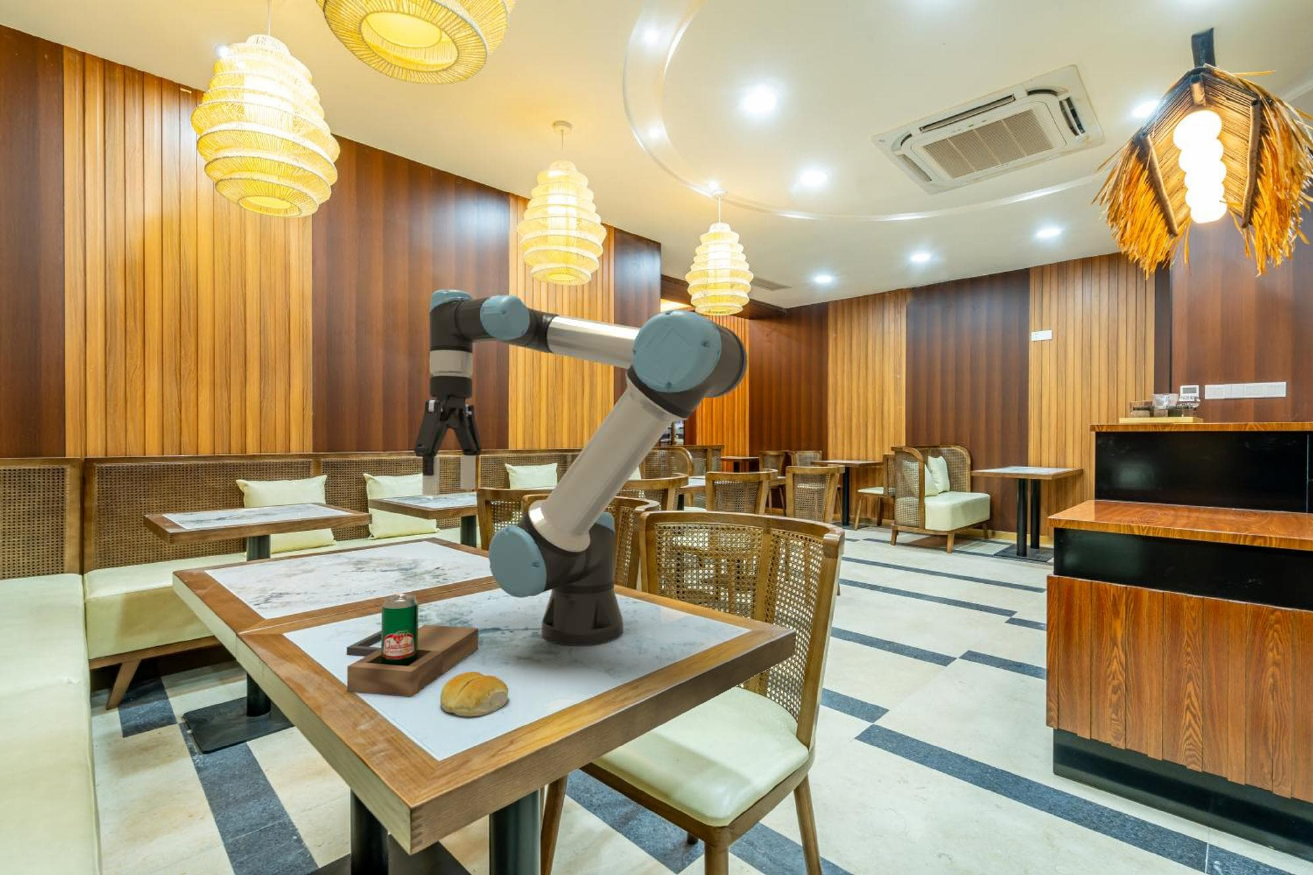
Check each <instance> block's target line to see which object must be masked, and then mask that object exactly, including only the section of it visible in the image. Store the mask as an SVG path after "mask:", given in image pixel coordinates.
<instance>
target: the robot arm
mask: <svg viewBox="0 0 1313 875" xmlns="http://www.w3.org/2000/svg"><path fill="white" fill-rule="evenodd" d="M473 298H474V297H473V296H472V294H470V293H469V292H467V291H463V290H459V289H438V290H435V291H434V292H432V294H431V296H430V306H429V312H428V315H429V352H430V353H429V359H428V362H429V373H430V375H433V376H430V377H429V381H428V382H429V384H428V385H429V387H428V388H429V392H428V393H429V396H430V397H431V398H434V399H429V400H425V402H424V413H423V416H422V417H423V418H422V420H421V424H420V427H419V431H418V433H417V434H418V435H417V437H416V441H415V444H414V447H413V448H414V449H413V452H414V453H415V456H416V457H418V458H422V492H421V493H422V496H439V495H440V457H439V456H437V455H438V452H439V450H440V449H441V446H442V444H443V441H444V440H445V436H446V434H447V432H448V430H449V429H451V430H453V432H454V434H455V437H456V439H457V441H458V444H459V447H460V449H461V452H462V453H463V455H460V490H476V456H481V454H482V444H481V438H480V436H479V430H478V424H477V422H476V417H475V405H474V404H466V399H467V400H468V399H471V398H473V383H474V382H473V379H472V378H470V377H471V376H473V374H474V364H473V363H474V360H473V359H474V358H473V357H474V356H473V352H474V350H473V347H474V346H473V345H474V343H481V342H496V343H501V344H506V345H510V346H516V347H519V348H520V347H522V348H525V349H529V350H533V351H537V352H539V353H546V354H553V355H559V356H565V357H568V358H573V359H578V360H583V361H588V362H594V363H597V364H603V365H608V366H612V367H616V368H617V367H618V368H622V369H626V372H625V379H626V384H627V386H626V389H625V391H623V394H622V395H621V396H620V397H619V399H618V400H617V401H616V403H615V404H614V406H613V407H612V408H611V410H610V411H609V413H608V414H607V416H606V417H605V418H604V419H603V421H602V422H601V423H600V425H599V427H597V429H596V430H595V432H594V433H593V435H592V436H591V437H590V439H589V440H588V441H587V443H586V444H585V445H584V447H583V448H582V450H581V451H580V453H579V454H578V455H577V456H576V457H575V459H574V461H573V462H572V463H571V465H570V466H569V467H568V469H567V470H566V471H565V473H564V474H563V476H562V477H561V479H560V480H559V481H558V482H557V484H556V485H555V486H554V489H553V490H552V491H551V492H550V494H549V495H548V496H547V497H546V499H538V500H535V501H534V502H532V503H531V504H530V505H529V507H528V508H527V510H526V511H525V512H524V514H523V515H522V517H521V518H520V520H518V522H517V523H516V524H515V525H514V524H510V525H506V526H504V527H502V528H500V529H499V530H498V531H497V532H495V533H494V535H493V537H492V538H491V541H490V543H489V547H488V561H489V568H490V572H491V574H492V577H493V579H494V581H495V582H496V584H497V586H499V588H500V589H501V590H502V591H503V592H505V593H506V594H508V595H509V596H511V597H514V598H528V597H536V596H538V595H541V594H542V593H545V592H548V591H550V590H551V593H550V597H549V599H548V602H547V606H546V609H545V611H544V615H543V617H542V620H541V636H542V638H544V639H545V640H547V641H548V642H552V643H555V644H560V645H568V646H591V645H598V644H604V643H608V642H611V641H613V640H616V639H618V638H620V637H621V636H622V635H623V633H624V619H623V616H622V612H621V609H620V605H619V602H618V599H617V596H616V593H615V554H616V553H615V547H616V546H615V544H616V542H615V541H616V539H615V538H616V530H615V529H616V528H615V518H614V516H613V514H612V513H610V512H608V511H606V509H607V507H608V506H609V505H610V504H611V503H612V501H613V500H614V499H615V497H616V496H617V495H618V494H619V492H621V490H622V488H623V487H624V485H625V484H626V483H627V482H628V480H629V479H630V478H631V477H632V475H633V474H634V472H636V470H637V469H638V467H639V466H640V465H641V463H642V462H643V461H644V459H646V457H647V456H648V455H649V453H650V452H651V450H652V449H653V448H654V446H656V444H657V443H658V442H659V440H660V439H661V438H662V436H663V435H664V434H665V433H666V431H667V430H668V429H669V427H670V426H671V424H672V423H674V422H678V421H679V422H680V421H686V420H689V418H690V417H691V416H692V414H693V413H694V412H695V410H696V409H697V408H698V406H700V404H701V403H702V402H703V400H704V399H706V398H708V399H715V398H720V397H723V396H726V395H728V394H729V393H732V392H733V391H734V390H736V388H737V387H738V386H739V385H740V384H741V383H742V381H743V379H744V378H745V376H746V372H747V370H748V369H747V368H748V362H749V361H748V353H747V348H746V347H745V345H744V343H743V340H742V339H741V338H740V337H739V335H738V334H737V333H736V332H734V331H733V330H731V329H730V328H727V327H726V326H724V325H720V324H719V323H717V322H715V321H713V320H711V319H709V318H707V317H705V316H704V315H702V314H700V313H698V312H695V311H694V312H693V311H691V310H690V311H688V310H684V309H683V310H681V309H670V310H666V311H665V310H664V311H662V312H660V313H658V314H656V315H653V316H652V317H651V318H649V319H648V320H647V321H646V322H645V323H644V324H643V325H642V326H641V327H636V326H629V325H628V326H627V325H625V324H624V325H623V324H618V323H617V324H616V323H612V322H611V323H610V322H607V321H606V322H605V321H598V320H593V319H587V318H582V317H575V316H574V317H573V316H570V315H569V316H568V315H562V314H558V313H557V314H556V313H551V312H545V311H543V310H542V311H540V310H537V309H533V308H531V307H528V306H527V304H526V303H525V302H523V301H522V299H521V298H520V297H518V296H517V295H512V294H511V295H507V294H506V295H504V294H503V295H502V294H498V295H493V296H490V297H484V298H476V299H473Z"/></svg>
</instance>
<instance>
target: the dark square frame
mask: <svg viewBox="0 0 1313 875" xmlns="http://www.w3.org/2000/svg"><path fill="white" fill-rule="evenodd" d="M378 642H381V630H380V631H377V632H375V633H373V634H371V635H369V636H368V637H365V638H363V639H360V640H359V641H357V642H354V643H353V644H351V645H348V646H346V655H349V656H362V657H366V656H368V655H370V654H371V653H373V652H375V651H377V650H379V649H381V647H376V646H373V645H374V644H376V643H378Z"/></svg>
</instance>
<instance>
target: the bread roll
mask: <svg viewBox="0 0 1313 875" xmlns="http://www.w3.org/2000/svg"><path fill="white" fill-rule="evenodd" d="M508 694H509V687H508V686H507V684H506V683H505V681H504V680H502V679H500V678H498V677H496V676H494V675H484V674H482V673H481V672H477V671H467V672H466V671H465V672H463V673H460V674H459V673H458V674H457V675H455V676H453V677H452V678H450V679H449V680H448V681H446V683H445V684H444V685H443V687H442V689H441V691H440V697H439V701H440V704H439V705H440V706H441V709H442V710H443V711H445V712H446V713H450V714H452V713H453V714H455V715H456V716H458V717H466V718H467V717H468V718H472V717H480V716H484V715H489V714H490V713H493V712H496V711H498V710H499V709H500V708H502V707H503V706H504V705H505V704H507V702H508V697H509V696H508Z"/></svg>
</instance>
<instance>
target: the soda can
mask: <svg viewBox="0 0 1313 875" xmlns="http://www.w3.org/2000/svg"><path fill="white" fill-rule="evenodd" d="M416 596H417V595H414V594H412V593H411V594H409V593H408V594H407V593H399V594H393V595H389V596H387V597H385V598H384V602H383V604H382V605H381V630H380V631H381V640H380V643H381V644H380V646H381V647H380V648H381V664H385V665H397V666H409V665H410V664H412V663H414V662H415V661H417V660H418V628H419V602H418V600H417V597H416Z"/></svg>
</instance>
